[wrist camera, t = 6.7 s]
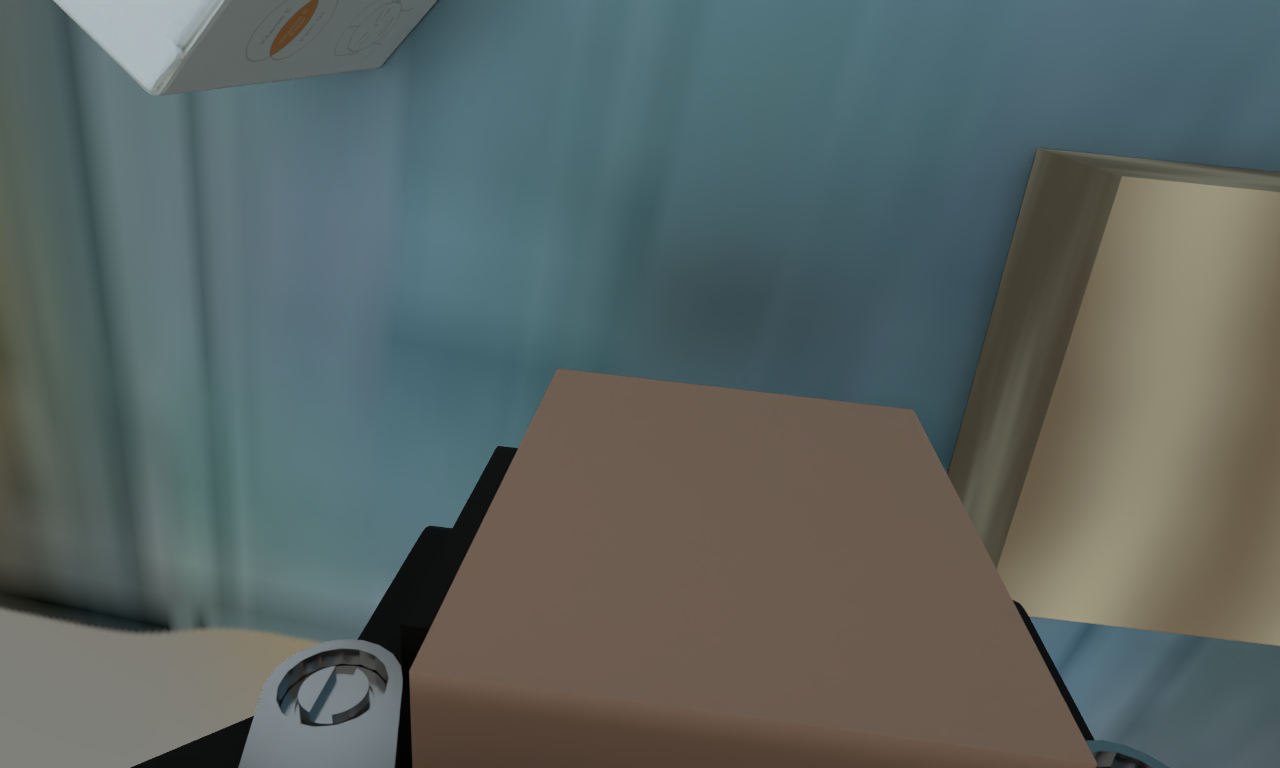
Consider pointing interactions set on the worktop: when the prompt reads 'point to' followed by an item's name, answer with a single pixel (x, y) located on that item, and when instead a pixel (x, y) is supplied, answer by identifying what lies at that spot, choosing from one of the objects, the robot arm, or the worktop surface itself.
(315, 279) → the worktop surface
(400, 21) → the small box
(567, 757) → the terracotta block
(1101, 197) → the maple base block
